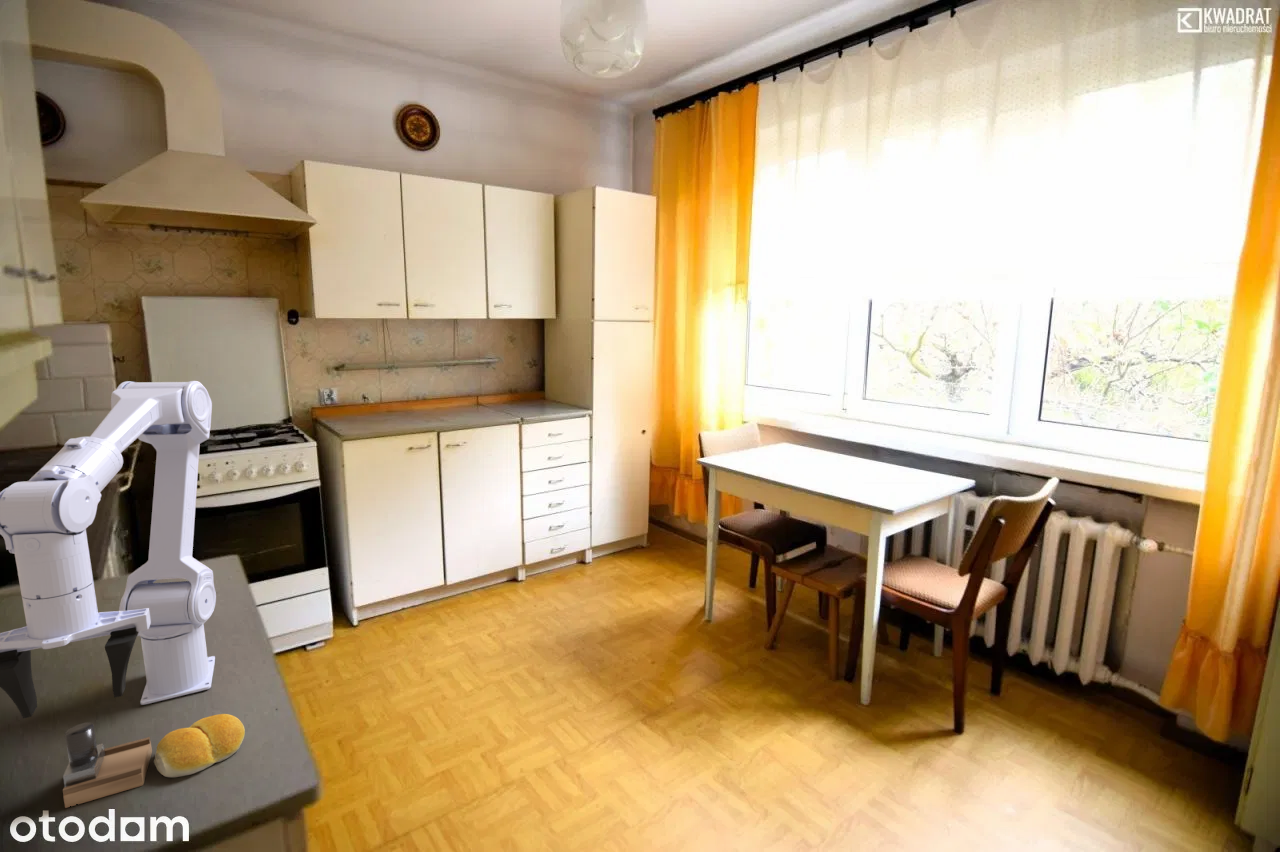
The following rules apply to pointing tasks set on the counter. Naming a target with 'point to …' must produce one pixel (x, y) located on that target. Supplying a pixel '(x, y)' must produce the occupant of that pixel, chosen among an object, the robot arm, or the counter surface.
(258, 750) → the counter surface
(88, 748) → the jaw
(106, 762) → the press bed
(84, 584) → the robot arm
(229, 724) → the bread roll
